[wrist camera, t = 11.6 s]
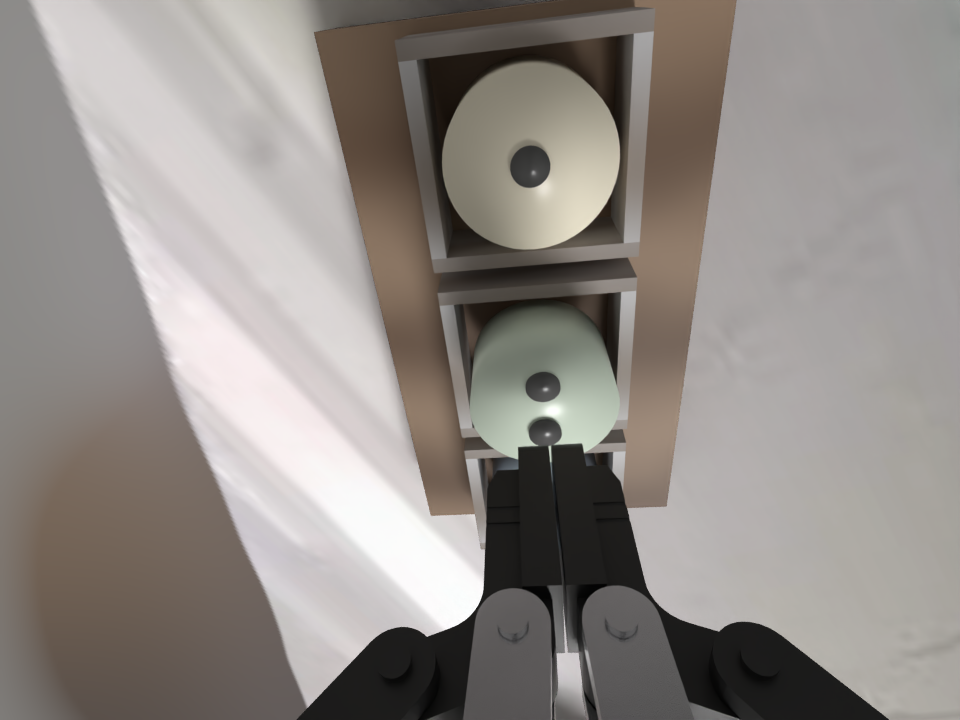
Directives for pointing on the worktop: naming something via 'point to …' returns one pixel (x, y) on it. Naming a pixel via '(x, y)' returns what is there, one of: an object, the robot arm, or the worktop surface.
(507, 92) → the one-pip button
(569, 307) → the two-pip button
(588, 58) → the button panel
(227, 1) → the worktop surface
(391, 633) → the robot arm
